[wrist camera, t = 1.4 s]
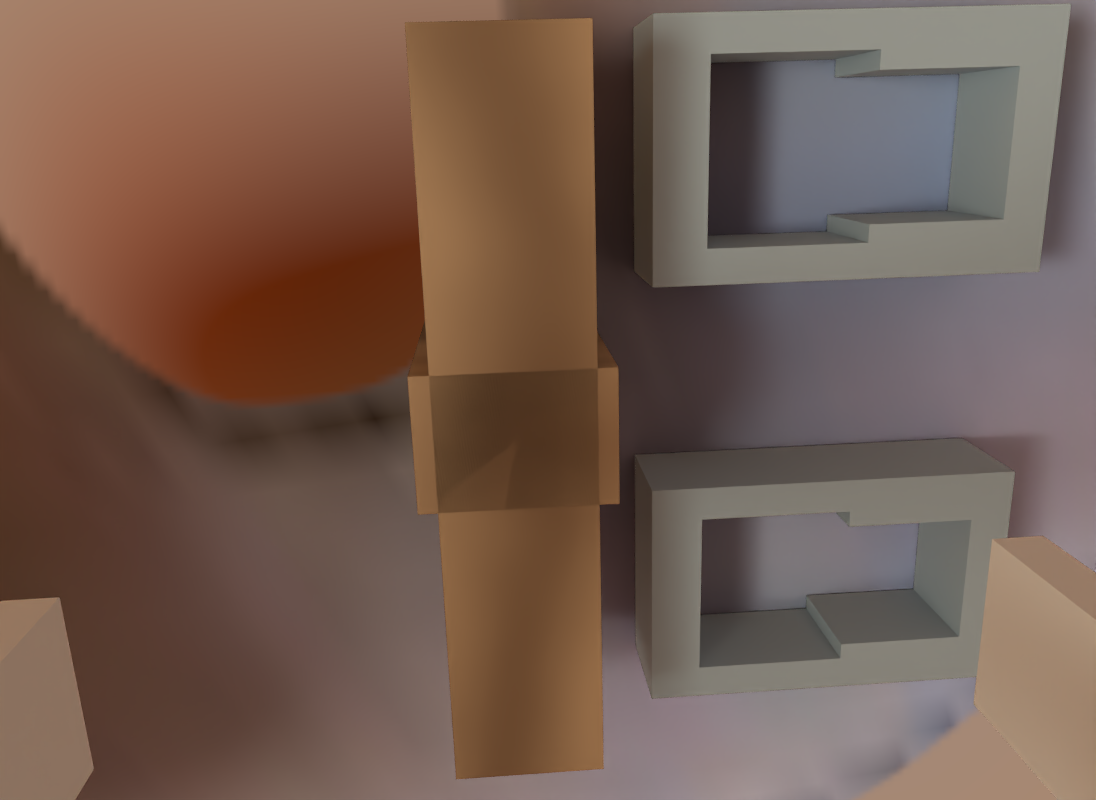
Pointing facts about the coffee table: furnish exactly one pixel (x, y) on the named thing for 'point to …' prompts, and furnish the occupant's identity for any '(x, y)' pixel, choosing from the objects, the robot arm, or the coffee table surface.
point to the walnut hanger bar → (513, 384)
